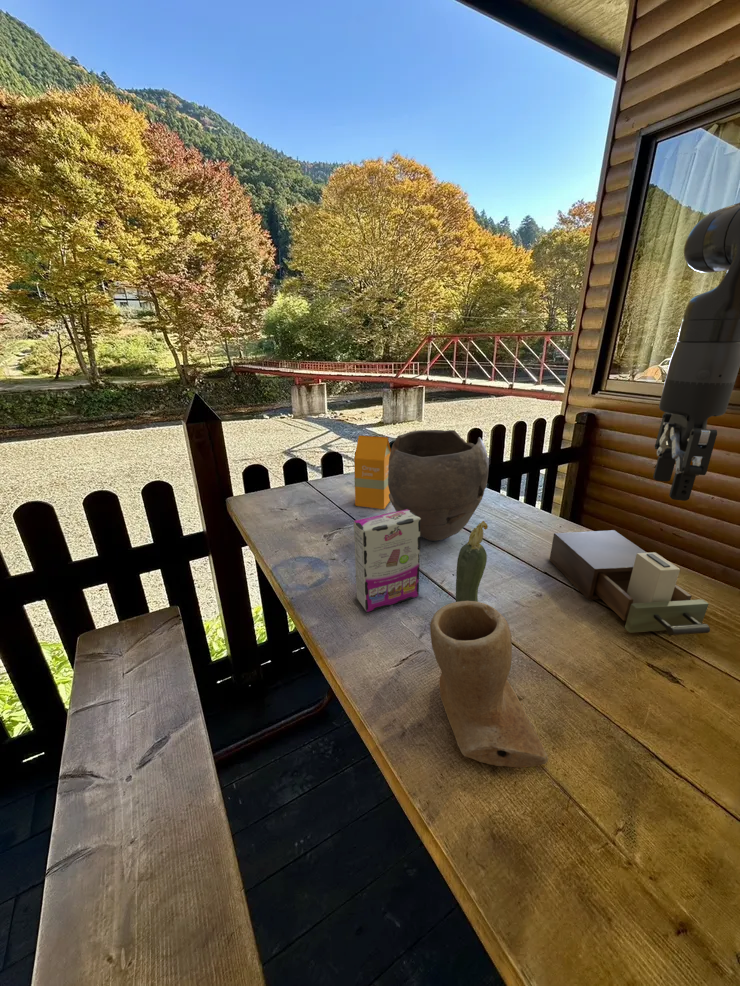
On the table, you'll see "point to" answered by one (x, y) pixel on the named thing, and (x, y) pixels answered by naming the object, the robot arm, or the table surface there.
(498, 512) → the table surface
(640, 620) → the drawer
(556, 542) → the cabinet
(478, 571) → the vegetable
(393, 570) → the candy bar box
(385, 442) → the orange juice
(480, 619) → the clay boot vessel
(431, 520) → the clay pot
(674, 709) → the table surface
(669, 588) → the slotted beige box
